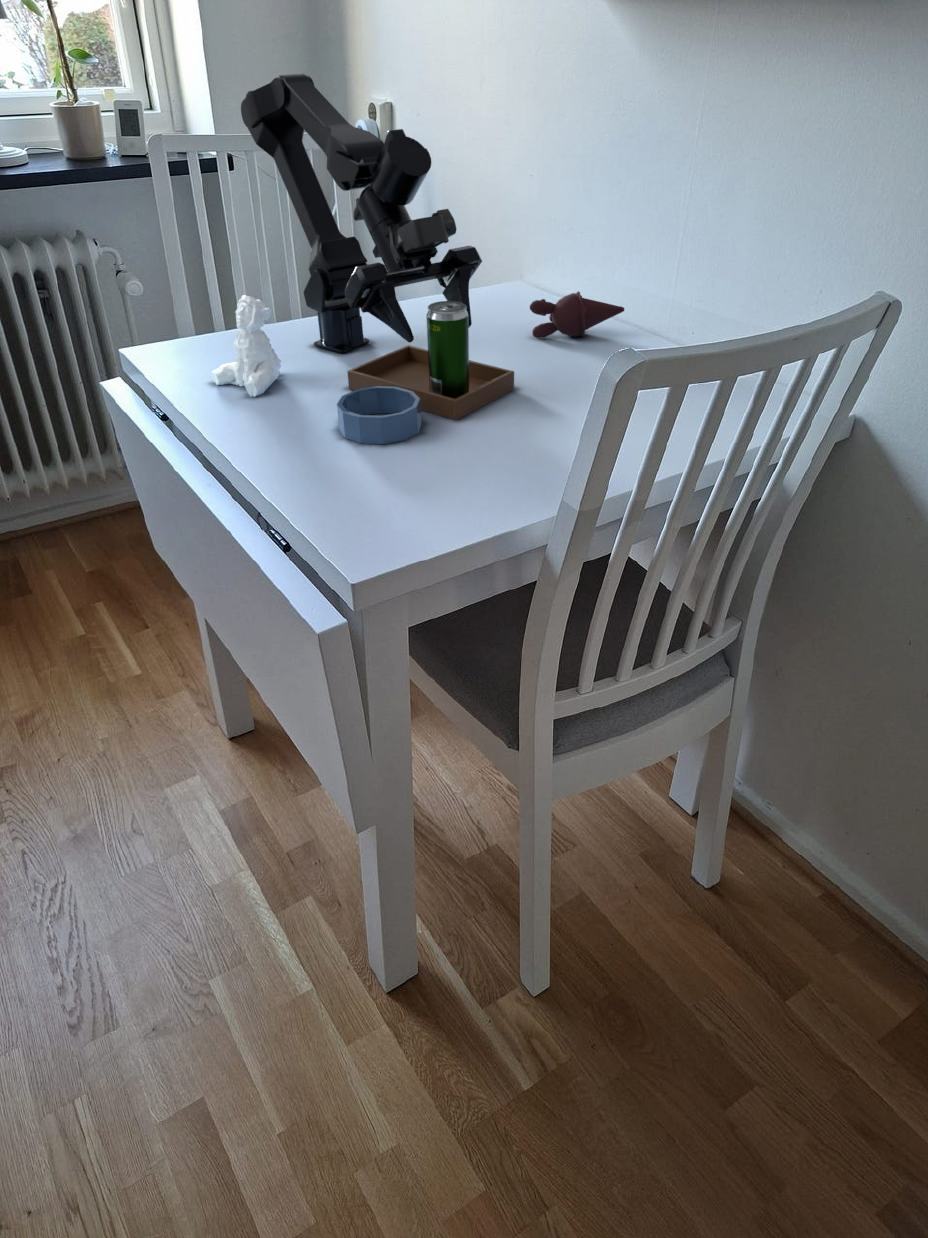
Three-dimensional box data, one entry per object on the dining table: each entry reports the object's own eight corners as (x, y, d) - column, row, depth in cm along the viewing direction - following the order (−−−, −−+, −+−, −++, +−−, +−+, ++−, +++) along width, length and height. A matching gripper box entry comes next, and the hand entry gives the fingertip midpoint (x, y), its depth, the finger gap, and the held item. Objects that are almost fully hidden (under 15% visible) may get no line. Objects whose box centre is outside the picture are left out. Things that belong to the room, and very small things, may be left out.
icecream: (618, 285, 140) (526, 296, 140) (628, 285, 133) (531, 297, 133) (620, 330, 142) (530, 341, 142) (630, 332, 135) (535, 344, 135)
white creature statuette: (210, 383, 124) (193, 298, 117) (255, 366, 130) (242, 283, 123) (254, 398, 120) (240, 309, 113) (299, 379, 125) (289, 294, 118)
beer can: (454, 407, 115) (452, 315, 108) (421, 398, 117) (417, 308, 110) (477, 394, 118) (476, 304, 111) (445, 386, 121) (442, 297, 114)
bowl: (324, 431, 110) (321, 404, 108) (377, 405, 117) (375, 380, 115) (384, 451, 105) (382, 424, 103) (436, 423, 112) (435, 397, 110)
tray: (348, 388, 122) (347, 370, 121) (409, 361, 131) (408, 344, 129) (456, 420, 113) (456, 401, 111) (514, 389, 121) (514, 371, 120)
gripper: (347, 196, 103) (402, 313, 102) (473, 178, 112) (524, 286, 111) (322, 253, 113) (372, 360, 112) (440, 232, 122) (487, 331, 121)
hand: (441, 333), depth 114 cm, fingers open, 9 cm apart
